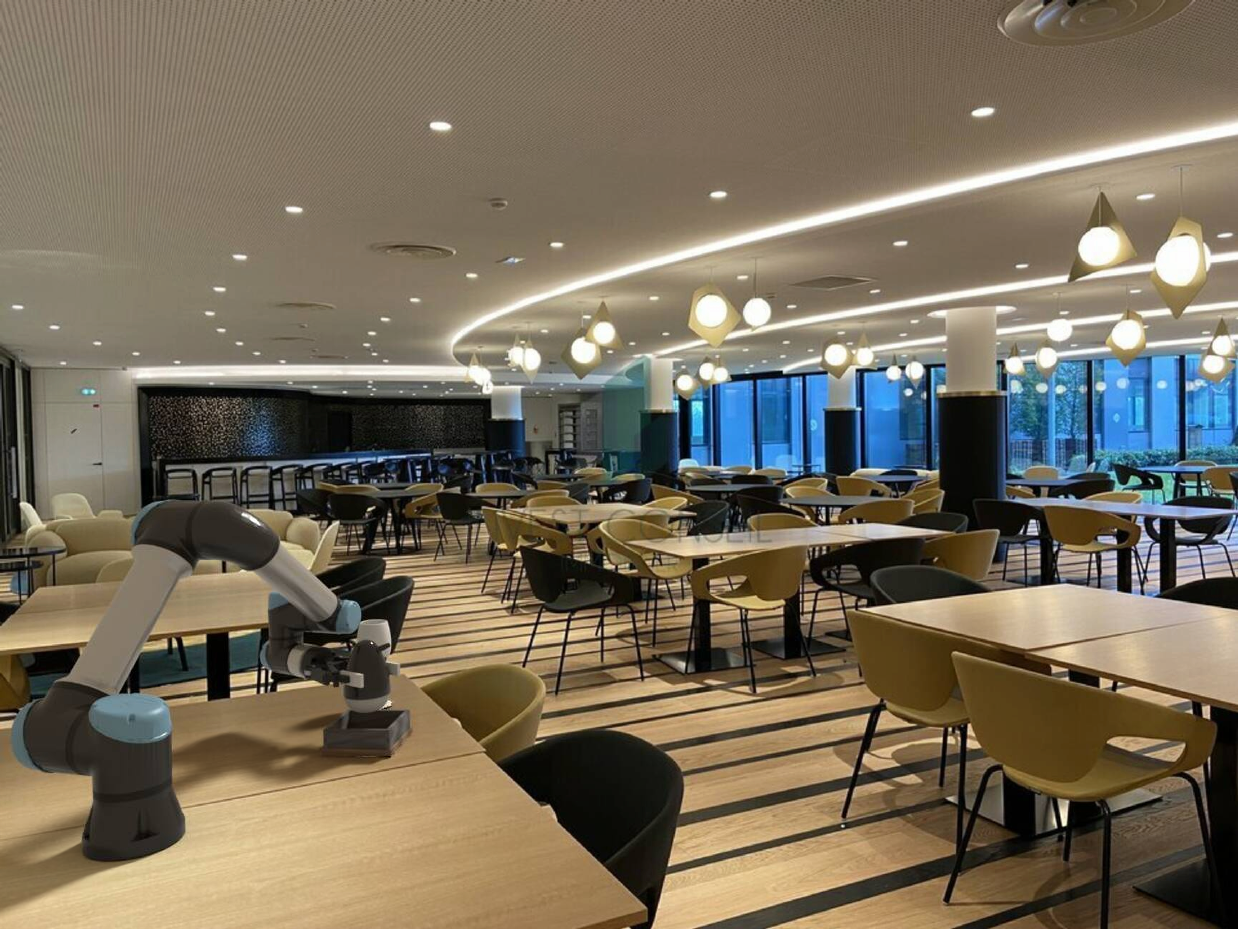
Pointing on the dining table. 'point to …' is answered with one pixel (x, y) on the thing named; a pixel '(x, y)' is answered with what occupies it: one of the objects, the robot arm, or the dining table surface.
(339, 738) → the holder
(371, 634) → the wineglass
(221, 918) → the dining table surface
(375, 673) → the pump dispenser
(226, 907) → the dining table surface
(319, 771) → the dining table surface
